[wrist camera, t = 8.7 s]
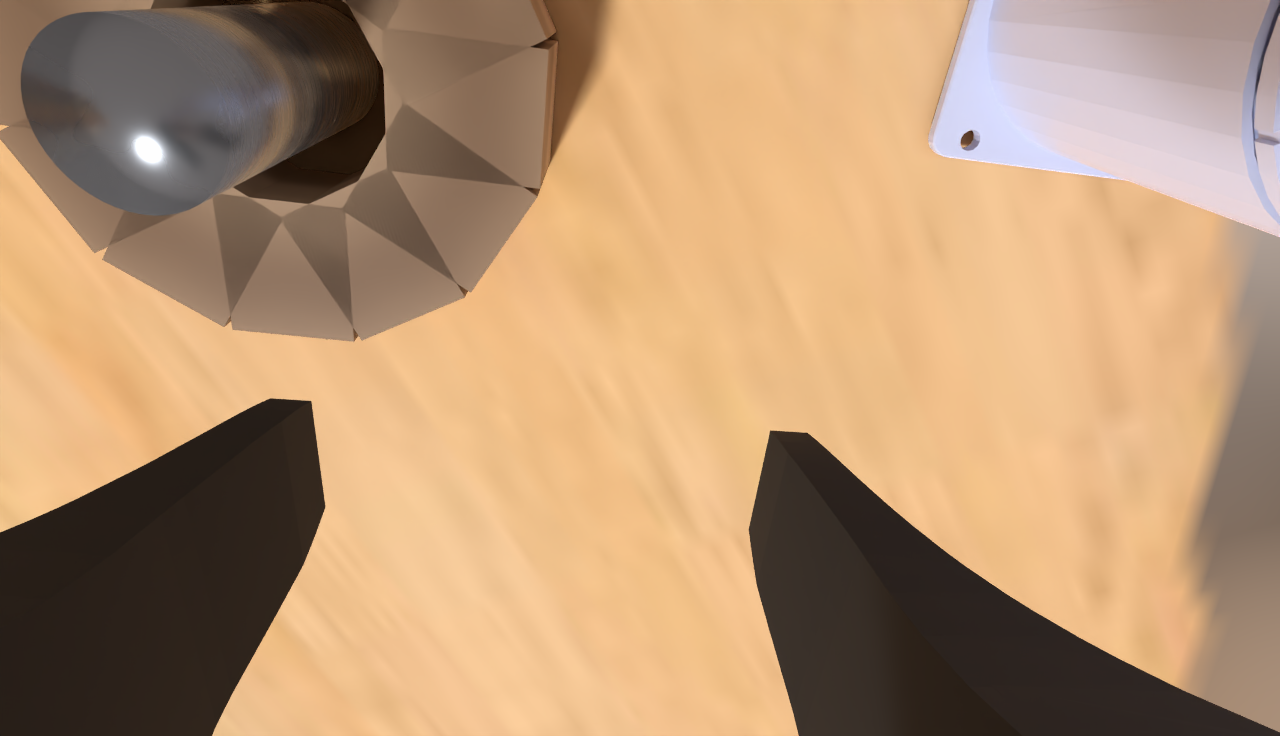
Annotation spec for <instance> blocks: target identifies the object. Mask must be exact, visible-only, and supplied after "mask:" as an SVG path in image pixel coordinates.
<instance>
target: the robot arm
mask: <svg viewBox="0 0 1280 736" xmlns="http://www.w3.org/2000/svg"><path fill="white" fill-rule="evenodd" d="M971 130H972V131H973V133H974V137H973V140H972V142H971V144H970V145H968V146H967V147H964V148H962V147H961V145H960V142H961V138H962V136H963V135H964V134H965V133H966V132H968V131H971ZM928 142H929V145H930V148H931V149H932V150H933V151H934V152H935V153H937V154H939V155H941V156H944V157H949V158H957V159H964V160H972V161H980V162H988V163H995V164H1003V165H1011V166H1019V167H1027V168H1034V169H1042V170H1050V171H1058V172H1065V173H1073V174H1081V175H1089V176H1096V177H1104V178H1112V179H1120V180H1127V181H1130V182H1133V183H1135V184H1138V185H1141V186H1143V187H1146V188H1149V189H1151V190H1154V191H1157V192H1159V193H1162V194H1165V195H1168V196H1170V197H1173V198H1176V199H1178V200H1181V201H1184V202H1186V203H1189V204H1192V205H1194V206H1197V207H1200V208H1203V209H1205V210H1208V211H1211V212H1213V213H1216V214H1219V215H1221V216H1224V217H1227V218H1230V219H1232V220H1235V221H1238V222H1240V223H1243V224H1246V225H1248V226H1251V227H1254V228H1256V229H1259V230H1262V231H1265V232H1267V233H1270V234H1273V235H1275V236H1278V237H1280V0H970V1H969V4H968V8H967V11H966V14H965V17H964V21H963V24H962V27H961V31H960V34H959V37H958V40H957V44H956V47H955V50H954V54H953V57H952V60H951V63H950V67H949V70H948V73H947V76H946V80H945V83H944V86H943V90H942V93H941V96H940V99H939V103H938V106H937V109H936V112H935V116H934V119H933V122H932V126H931V129H930V132H929V138H928ZM324 509H325V501H324V494H323V486H322V478H321V471H320V463H319V456H318V448H317V441H316V433H315V426H314V418H313V411H312V403H311V401H301V400H286V399H268V400H266V401H264V402H261V403H259V404H257V405H255V406H253V407H251V408H249V409H247V410H245V411H243V412H241V413H239V414H238V415H236V416H234V417H232V418H230V419H228V420H227V421H225V422H223V423H221V424H219V425H217V426H216V427H214V428H212V429H210V430H208V431H207V432H205V433H203V434H201V435H199V436H197V437H196V438H194V439H192V440H190V441H188V442H186V443H185V444H183V445H181V446H179V447H177V448H175V449H174V450H172V451H170V452H168V453H166V454H164V455H163V456H161V457H159V458H157V459H155V460H153V461H152V462H150V463H148V464H146V465H144V466H142V467H140V468H138V469H136V470H134V471H132V472H130V473H128V474H126V475H124V476H122V477H120V478H118V479H116V480H114V481H112V482H110V483H108V484H106V485H104V486H102V487H100V488H98V489H96V490H94V491H92V492H90V493H88V494H86V495H84V496H82V497H80V498H78V499H76V500H74V501H72V502H69V503H67V504H65V505H63V506H61V507H59V508H57V509H54V510H52V511H50V512H48V513H45V514H43V515H41V516H38V517H36V518H34V519H32V520H29V521H27V522H25V523H22V524H20V525H17V526H15V527H13V528H10V529H8V530H5V531H3V532H0V736H212V734H213V732H214V729H215V727H216V725H217V723H218V721H219V719H220V717H221V715H222V713H223V711H224V709H225V707H226V705H227V703H228V701H229V699H230V697H231V695H232V693H233V691H234V689H235V688H236V686H237V684H238V682H239V680H240V679H241V677H242V675H243V673H244V671H245V670H246V668H247V666H248V664H249V663H250V661H251V659H252V657H253V655H254V654H255V652H256V650H257V648H258V646H259V645H260V643H261V641H262V639H263V637H264V636H265V634H266V632H267V630H268V628H269V627H270V625H271V623H272V621H273V619H274V618H275V616H276V614H277V612H278V610H279V609H280V607H281V605H282V603H283V601H284V600H285V598H286V596H287V594H288V592H289V590H290V589H291V587H292V585H293V583H294V581H295V579H296V578H297V576H298V574H299V572H300V570H301V568H302V566H303V564H304V562H305V559H306V557H307V554H308V552H309V549H310V547H311V544H312V542H313V539H314V537H315V534H316V531H317V529H318V526H319V523H320V520H321V518H322V515H323V512H324ZM749 534H750V542H751V549H752V557H753V563H754V570H755V576H756V582H757V587H758V591H759V594H760V598H761V602H762V605H763V609H764V612H765V616H766V620H767V623H768V627H769V630H770V634H771V637H772V640H773V644H774V647H775V651H776V654H777V658H778V661H779V665H780V668H781V672H782V675H783V678H784V682H785V685H786V689H787V692H788V696H789V699H790V703H791V706H792V710H793V713H794V717H795V722H796V726H797V730H798V734H799V736H1280V732H1277V731H1275V730H1273V729H1270V728H1268V727H1266V726H1264V725H1261V724H1259V723H1257V722H1254V721H1252V720H1250V719H1247V718H1245V717H1243V716H1241V715H1238V714H1236V713H1234V712H1231V711H1229V710H1227V709H1224V708H1222V707H1220V706H1217V705H1215V704H1213V703H1210V702H1208V701H1206V700H1204V699H1201V698H1199V697H1197V696H1194V695H1192V694H1190V693H1187V692H1185V691H1183V690H1181V689H1179V688H1177V687H1175V686H1173V685H1170V684H1168V683H1166V682H1164V681H1162V680H1160V679H1158V678H1156V677H1154V676H1152V675H1150V674H1148V673H1146V672H1144V671H1142V670H1140V669H1138V668H1136V667H1134V666H1132V665H1130V664H1128V663H1126V662H1124V661H1122V660H1120V659H1118V658H1116V657H1114V656H1112V655H1111V654H1109V653H1107V652H1105V651H1103V650H1101V649H1099V648H1097V647H1096V646H1094V645H1092V644H1090V643H1088V642H1086V641H1084V640H1083V639H1081V638H1079V637H1077V636H1075V635H1074V634H1072V633H1070V632H1069V631H1067V630H1065V629H1063V628H1062V627H1060V626H1058V625H1057V624H1055V623H1053V622H1051V621H1050V620H1048V619H1046V618H1044V617H1043V616H1041V615H1039V614H1038V613H1036V612H1034V611H1032V610H1031V609H1029V608H1028V607H1026V606H1024V605H1023V604H1021V603H1020V602H1018V601H1016V600H1015V599H1013V598H1012V597H1010V596H1008V595H1007V594H1005V593H1004V592H1002V591H1001V590H999V589H998V588H996V587H995V586H994V585H992V584H991V583H989V582H988V581H986V580H985V579H983V578H982V577H980V576H979V575H977V574H976V573H974V572H973V571H972V570H970V569H969V568H967V567H966V566H964V565H963V564H961V563H960V562H959V561H957V560H956V559H955V558H953V557H952V556H951V555H949V554H948V553H947V552H945V551H944V550H943V549H941V548H940V547H939V546H938V545H936V544H935V543H934V542H932V541H931V540H930V539H929V538H927V537H926V536H925V535H924V534H922V533H921V532H920V531H919V530H917V529H916V528H915V527H913V526H912V525H911V524H910V523H909V522H907V521H906V520H905V519H904V518H903V517H901V516H900V515H899V514H898V513H897V512H896V511H894V510H893V509H892V508H891V507H890V506H889V505H887V504H886V503H885V502H884V501H883V500H882V499H881V498H879V497H878V496H877V495H876V494H875V493H874V492H873V491H872V490H870V489H869V488H868V487H867V486H866V485H865V484H864V483H863V482H862V481H861V480H859V479H858V478H857V477H856V476H855V475H854V474H853V473H852V472H851V471H850V470H849V469H847V468H846V467H845V466H844V465H843V464H842V463H841V462H840V461H839V460H838V459H837V458H836V457H834V456H833V455H832V454H831V453H830V452H829V451H828V450H827V449H826V448H825V447H823V446H822V445H821V444H820V443H819V442H818V441H817V440H815V439H814V438H813V437H812V436H811V435H809V434H808V433H800V432H784V431H770V435H769V439H768V444H767V449H766V453H765V458H764V462H763V467H762V471H761V476H760V481H759V485H758V490H757V494H756V499H755V504H754V508H753V513H752V517H751V522H750V526H749Z"/></svg>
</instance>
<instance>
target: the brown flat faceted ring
mask: <svg viewBox="0 0 1280 736" xmlns="http://www.w3.org/2000/svg"><path fill="white" fill-rule="evenodd" d="M223 1H224V0H0V125H7V126H9V127H7V128H5V129H3V130H1V131H0V139H1V141H2V142H3V143H4V144H5V145H6V147H7V148H8V149H9V150H10V151H11V153H12V154H13V155H14V156H15V157H16V159H17V160H18V161H19V162H20V164H21V165H22V166H23V167H24V168H25V170H26V171H27V172H28V173H29V174H30V176H31V177H32V178H33V179H34V180H35V182H36V183H37V184H38V185H39V187H40V188H41V189H42V190H43V191H44V193H45V194H46V195H47V196H48V197H49V199H50V200H51V201H52V202H53V204H54V205H55V206H56V207H57V208H58V210H59V211H60V212H61V213H62V214H63V216H64V217H65V218H66V219H67V220H68V222H69V223H70V224H71V225H72V227H73V228H74V229H75V230H76V231H77V233H78V234H79V235H80V236H81V237H82V239H83V240H84V241H85V242H86V243H87V245H88V246H89V247H90V248H91V250H92V251H93V252H94V253H96V252H98V251H100V250H102V249H104V248H106V247H108V248H107V250H106V252H105V255H104V257H103V259H102V260H104V261H106V262H108V263H109V264H111V265H113V266H115V267H117V268H118V269H120V270H122V271H124V272H126V273H127V274H129V275H131V276H133V277H135V278H136V279H138V280H140V281H142V282H144V283H145V284H147V285H149V286H151V287H153V288H154V289H156V290H158V291H160V292H162V293H163V294H165V295H167V296H169V297H171V298H173V299H174V300H176V301H178V302H180V303H182V304H183V305H185V306H187V307H189V308H191V309H192V310H194V311H196V312H198V313H200V314H201V315H203V316H205V317H207V318H209V319H210V320H212V321H214V322H216V323H218V324H219V325H221V326H223V327H225V326H226V325H227V324H228V323H229V322H230V321H231V323H232V329H233V330H240V331H250V332H261V333H271V334H281V335H292V336H302V337H312V338H322V339H333V340H343V341H353V342H354V341H355V339H356V338H357V337H358V336H359V337H360V339H361V340H364V339H367V338H369V337H371V336H374V335H376V334H378V333H381V332H383V331H386V330H388V329H390V328H393V327H395V326H398V325H400V324H402V323H405V322H407V321H409V320H412V319H414V318H417V317H419V316H421V315H424V314H426V313H429V312H431V311H433V310H436V309H438V308H440V307H443V306H445V305H448V304H450V303H452V302H455V301H457V300H460V299H462V298H464V297H465V296H466V294H467V292H468V291H469V292H472V290H473V289H474V287H475V286H476V284H477V283H478V281H479V280H480V279H481V277H482V276H483V274H484V273H485V271H486V270H487V269H488V267H489V266H490V264H491V263H492V261H493V260H494V258H495V257H496V256H497V254H498V253H499V251H500V250H501V248H502V247H503V245H504V244H505V243H506V241H507V240H508V238H509V237H510V235H511V234H512V233H513V231H514V230H515V228H516V227H517V225H518V224H519V222H520V221H521V220H522V218H523V217H524V215H525V214H526V212H527V211H528V210H529V208H530V207H531V205H532V204H533V202H534V201H535V199H536V198H537V196H538V193H539V191H540V188H541V185H542V183H543V180H544V177H545V174H546V172H547V168H548V166H549V163H550V155H551V141H552V126H553V111H554V96H555V81H556V67H557V52H558V41H556V40H549V39H548V38H549V37H550V36H552V35H553V34H554V33H556V32H557V31H556V29H555V27H554V24H553V22H552V20H551V17H550V15H549V13H548V10H547V8H546V6H545V3H544V1H543V0H342V1H343V2H345V3H346V4H347V5H348V6H349V8H350V9H351V11H352V13H353V15H354V17H355V19H356V20H357V22H358V24H359V26H360V28H361V30H362V31H363V33H364V35H365V37H366V39H367V40H368V42H369V44H370V46H371V48H372V50H373V51H374V53H375V55H376V57H377V59H378V61H379V62H380V64H381V66H382V68H383V74H384V101H385V128H386V134H385V135H384V137H383V139H382V141H381V142H380V144H379V146H378V148H377V149H376V151H375V153H374V155H373V156H372V158H371V160H370V161H369V163H368V165H367V167H366V168H364V169H362V170H360V171H357V172H355V173H353V174H351V175H349V174H340V173H332V172H323V171H315V170H306V169H299V168H298V167H296V166H294V165H293V164H291V163H290V162H288V161H287V160H284V161H282V162H280V163H278V164H276V165H274V166H272V167H270V168H269V169H267V170H265V171H263V172H261V173H259V174H257V175H255V176H253V177H251V178H249V179H247V180H246V181H244V182H242V183H240V184H238V185H236V186H234V187H232V188H230V189H228V190H226V191H224V192H223V193H221V194H219V195H217V196H215V197H213V198H211V199H209V200H207V201H205V202H203V203H201V204H200V205H198V206H196V207H194V208H192V209H190V210H187V211H184V212H181V213H178V214H171V215H160V216H153V215H142V214H137V213H133V212H128V211H125V210H122V209H119V208H116V207H114V206H112V205H109V204H107V203H105V202H103V201H101V200H99V199H97V198H96V197H94V196H92V195H90V194H89V193H87V192H86V191H85V190H83V189H82V188H80V187H79V186H78V185H76V184H75V183H74V182H73V181H72V180H70V179H69V178H68V177H67V176H66V175H65V174H64V173H63V172H62V171H61V170H60V169H59V168H58V167H57V166H56V165H55V164H54V162H53V161H52V160H51V159H50V157H49V156H48V155H47V154H46V152H45V151H44V149H43V148H42V146H41V145H40V143H39V142H38V140H37V138H36V136H35V134H34V132H33V130H32V128H31V126H30V123H29V121H28V118H27V116H26V113H25V109H24V105H23V101H22V94H21V70H22V63H23V60H24V57H25V54H26V51H27V49H28V47H29V46H30V44H31V42H32V40H33V39H34V38H35V37H36V35H37V34H38V33H39V32H40V31H41V30H42V29H43V28H45V27H46V26H47V25H48V24H50V23H52V22H53V21H55V20H57V19H59V18H62V17H64V16H67V15H70V14H75V13H81V12H96V11H117V10H138V9H159V8H180V7H201V6H221V5H222V3H223Z"/></svg>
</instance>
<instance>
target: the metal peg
mask: <svg viewBox="0 0 1280 736" xmlns="http://www.w3.org/2000/svg"><path fill="white" fill-rule="evenodd" d="M378 88H379V69H378V64H377V60H376V57H375V54H374V51H373V50H372V48H371V46H370V44H369V42H368V40H367V39H366V37H365V35H364V34H363V32H362V31H361V30H360V29H359V27H358V26H357V25H356V24H355V23H354V22H353V21H352V20H350V19H349V18H348V17H347V16H345V15H344V14H343V13H341V12H339V11H338V10H336V9H334V8H332V7H329V6H327V5H324V4H320V3H316V2H286V3H264V4H243V5H222V6H201V7H180V8H159V9H138V10H117V11H96V12H81V13H75V14H70V15H67V16H64V17H62V18H59V19H57V20H55V21H53V22H52V23H50V24H48V25H47V26H46V27H45V28H43V29H42V30H41V31H40V32H39V33H38V34H37V35H36V37H35V38H34V39H33V40H32V42H31V44H30V46H29V47H28V49H27V51H26V54H25V57H24V60H23V63H22V70H21V94H22V101H23V105H24V109H25V113H26V116H27V118H28V121H29V123H30V126H31V128H32V130H33V132H34V134H35V136H36V138H37V140H38V142H39V143H40V145H41V146H42V148H43V149H44V151H45V152H46V154H47V155H48V156H49V157H50V159H51V160H52V161H53V162H54V164H55V165H56V166H57V167H58V168H59V169H60V170H61V171H62V172H63V173H64V174H65V175H66V176H67V177H68V178H69V179H70V180H72V181H73V182H74V183H75V184H76V185H78V186H79V187H80V188H82V189H83V190H85V191H86V192H87V193H89V194H90V195H92V196H94V197H96V198H97V199H99V200H101V201H103V202H105V203H107V204H109V205H112V206H114V207H116V208H119V209H122V210H125V211H128V212H133V213H137V214H142V215H153V216H160V215H171V214H178V213H181V212H184V211H187V210H190V209H192V208H194V207H196V206H198V205H200V204H201V203H203V202H205V201H207V200H209V199H211V198H213V197H215V196H217V195H219V194H221V193H223V192H224V191H226V190H228V189H230V188H232V187H234V186H236V185H238V184H240V183H242V182H244V181H246V180H247V179H249V178H251V177H253V176H255V175H257V174H259V173H261V172H263V171H265V170H267V169H269V168H270V167H272V166H274V165H276V164H278V163H280V162H282V161H284V160H286V159H288V158H290V157H292V156H293V155H295V154H297V153H299V152H301V151H303V150H305V149H307V148H309V147H311V146H313V145H315V144H316V143H318V142H320V141H322V140H324V139H326V138H328V137H330V136H332V135H334V134H336V133H338V132H339V131H341V130H343V129H345V128H347V127H349V126H351V125H353V124H355V123H357V122H358V121H359V120H361V119H362V118H363V117H364V116H365V115H366V114H367V113H368V112H369V110H370V109H371V107H372V106H373V104H374V102H375V99H376V96H377V93H378Z"/></svg>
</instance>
